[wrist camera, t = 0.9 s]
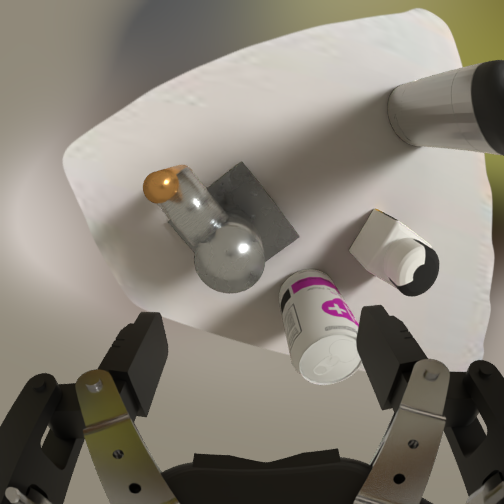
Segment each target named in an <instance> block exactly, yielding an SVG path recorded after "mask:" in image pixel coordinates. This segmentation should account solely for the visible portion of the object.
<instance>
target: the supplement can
mask: <svg viewBox="0 0 504 504" xmlns="http://www.w3.org/2000/svg"><path fill="white" fill-rule="evenodd" d="M279 305H280V309H281V314H282V319H283V323H284V328H285V333H286V338H287V343H288V347H289V352H290V357H291V362H292V365H293V366H294V368H295V369H296V371H297V372H298V373H299V374H301V375H302V376H303V378H305V379H306V380H308V381H309V382H311V383H313V384H318V385H331V384H334V383H338V382H340V381H343V380H345V379H346V378H348V377H350V376H351V375H353V374H354V373H355V372H356V371H357V370H358V369H359V367H360V366H361V364H362V361H361V359H360V356H359V354H358V351H357V346H356V338H357V333H358V327H359V324H358V323H357V321H356V319H355V317H354V316H353V314H352V312H351V311H350V309H349V307H348V306H347V304H346V302H345V301H344V299H343V297H342V296H341V294H340V293H339V291H338V289H337V288H336V286H335V284H334V283H333V281H332V280H331V279H330V278H329V277H328V276H327V275H326V274H325V273H323V272H321V271H318V270H303V271H299V272H296V273H295V274H293V275H292V276H290V277H289V278H287V280H286V281H285V282H284V284H283V285H282V286H281V289H280V292H279Z"/></svg>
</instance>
